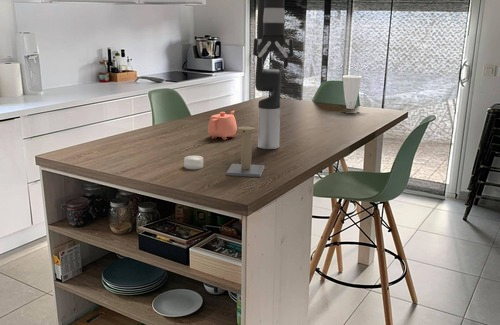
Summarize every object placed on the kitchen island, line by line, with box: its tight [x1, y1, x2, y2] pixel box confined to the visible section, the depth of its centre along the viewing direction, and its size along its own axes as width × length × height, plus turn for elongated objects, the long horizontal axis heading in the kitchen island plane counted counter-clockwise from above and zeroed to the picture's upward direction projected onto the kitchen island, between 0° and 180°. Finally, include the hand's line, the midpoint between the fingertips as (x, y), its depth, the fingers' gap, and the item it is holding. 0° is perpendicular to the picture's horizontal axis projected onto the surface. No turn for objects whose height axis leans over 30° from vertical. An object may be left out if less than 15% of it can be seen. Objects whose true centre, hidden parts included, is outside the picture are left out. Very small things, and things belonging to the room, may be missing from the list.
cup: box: [342, 74, 363, 110], centre depth 309 cm, size 12×12×22 cm
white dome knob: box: [183, 155, 204, 170], centre depth 191 cm, size 7×7×4 cm
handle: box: [237, 126, 256, 170], centre depth 183 cm, size 5×6×15 cm
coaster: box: [225, 163, 265, 178], centre depth 185 cm, size 12×12×1 cm
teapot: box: [207, 110, 238, 141], centre depth 239 cm, size 20×12×12 cm, turn 152°
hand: (272, 68), depth 185 cm, fingers open, 8 cm apart
